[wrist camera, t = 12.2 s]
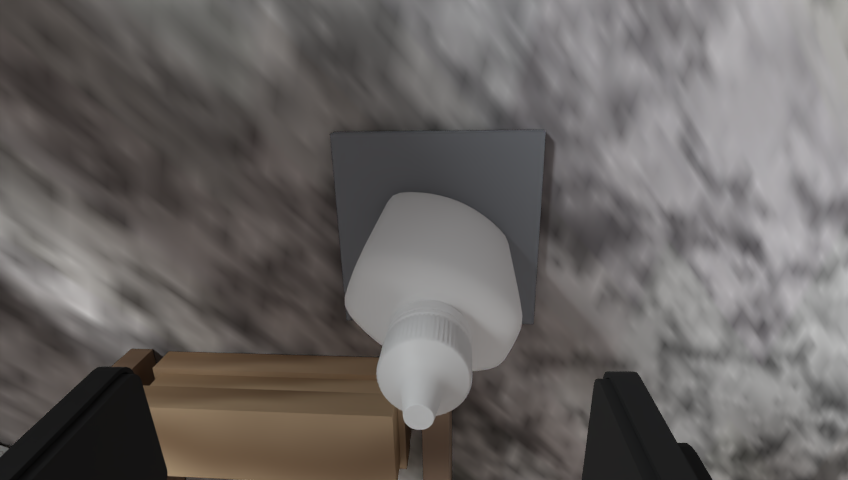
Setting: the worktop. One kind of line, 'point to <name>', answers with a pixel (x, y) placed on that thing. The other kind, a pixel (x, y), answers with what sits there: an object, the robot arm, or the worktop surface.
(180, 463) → the wooden block
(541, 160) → the slate mat
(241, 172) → the worktop surface
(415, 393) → the eye dropper bottle
